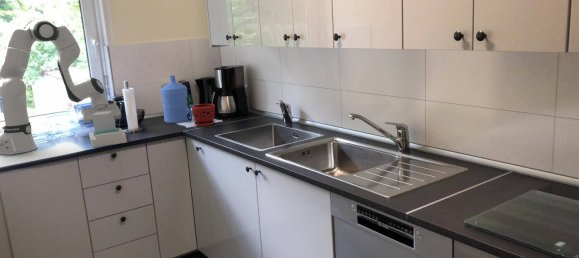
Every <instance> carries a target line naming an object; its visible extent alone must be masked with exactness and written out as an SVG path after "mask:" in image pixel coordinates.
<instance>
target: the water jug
mask: <svg viewBox="0 0 579 258" xmlns="http://www.w3.org/2000/svg"><path fill="white" fill-rule="evenodd" d="M169 80H170V82H169V83H168V84H166V85H165V86H163V87H161V88H160V93H161V94H160V95H161V99H162V109H163V117H164V118H163V121H164V122H165V123H167V124H179V122H181V123H185V122H188V121H187V112H188V110H189V111H190V109H189V107H188V106H187V101H186V100H187V98H188V89H187V86H186V85H185V84H181V83H179V82H177V81H176V75H169Z"/></svg>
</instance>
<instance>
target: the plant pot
mask: <svg viewBox="0 0 579 258" xmlns="http://www.w3.org/2000/svg"><path fill="white" fill-rule="evenodd" d="M191 111H192V117H193V120H194V121H195V122H194V125H195V126H196V127H201V128H202V127H203V128H205V127H209V126H213V125H214V124H215V120H214V119H215V115H216V114H215V113H216V107H215V104H213V103H200V104H195V105H192V106H191Z"/></svg>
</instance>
